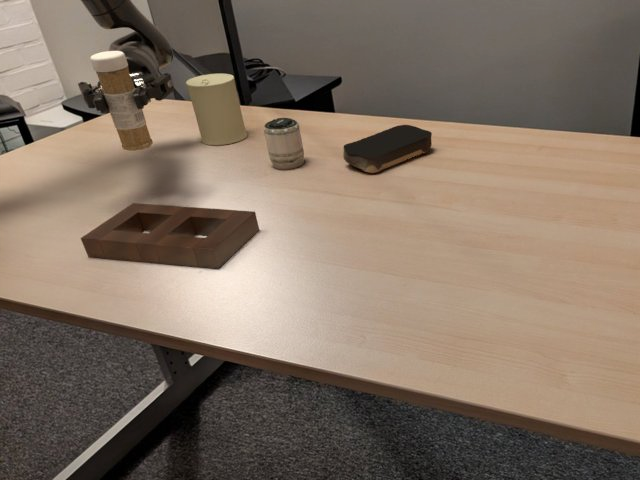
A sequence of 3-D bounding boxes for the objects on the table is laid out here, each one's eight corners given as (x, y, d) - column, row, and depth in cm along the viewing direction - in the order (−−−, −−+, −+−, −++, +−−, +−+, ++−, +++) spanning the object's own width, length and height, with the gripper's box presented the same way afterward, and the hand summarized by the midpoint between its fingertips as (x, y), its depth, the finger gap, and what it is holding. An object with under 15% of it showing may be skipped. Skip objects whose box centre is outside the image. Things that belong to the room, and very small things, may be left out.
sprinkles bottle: (139, 140, 102) (108, 48, 94) (160, 143, 100) (131, 50, 92) (115, 150, 99) (82, 56, 91) (137, 154, 97) (104, 58, 89)
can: (194, 146, 130) (177, 84, 123) (210, 131, 138) (194, 71, 131) (240, 144, 130) (225, 82, 123) (252, 129, 137) (239, 70, 130)
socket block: (88, 257, 93) (80, 238, 92) (139, 220, 103) (132, 202, 101) (218, 269, 89) (213, 249, 87) (259, 229, 98) (255, 211, 96)
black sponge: (406, 141, 127) (404, 122, 125) (436, 151, 122) (435, 131, 120) (340, 166, 118) (337, 146, 116) (370, 177, 113) (367, 157, 111)
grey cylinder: (264, 168, 119) (255, 125, 114) (282, 156, 123) (273, 114, 119) (295, 171, 117) (286, 127, 112) (311, 159, 122) (304, 116, 117)
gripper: (76, 55, 103) (55, 82, 90) (171, 45, 106) (164, 71, 92) (94, 103, 107) (76, 136, 94) (184, 93, 110) (179, 124, 97)
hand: (120, 104), depth 93 cm, fingers closed on sprinkles bottle, 4 cm apart
